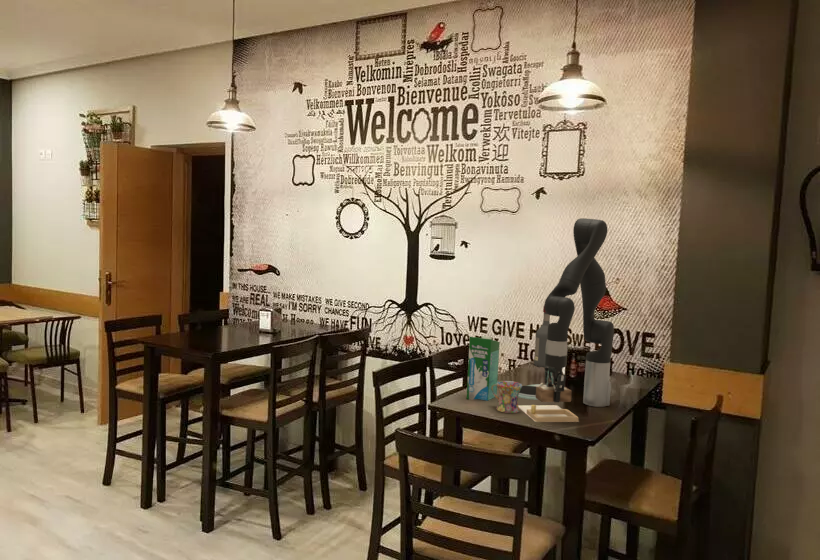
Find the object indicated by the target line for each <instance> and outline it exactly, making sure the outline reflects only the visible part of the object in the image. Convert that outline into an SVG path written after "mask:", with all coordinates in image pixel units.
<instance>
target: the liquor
mask: <svg viewBox="0 0 820 560" xmlns="http://www.w3.org/2000/svg"><path fill="white" fill-rule="evenodd" d="M542 309H543V310H542V311H543V320H542V324H541V326H540V327H539V328H538V329H537V330H536V333H535V341H534V343H535V345H534V358H533V359H534V360H533V364H534V366H535V367H539V368H545V367H548V366H546V365H545V351H546V343H547V332H548V325H549V324H551V323H550V320H551V318H550V317H551V315H548V314H547V313H546V312H545V309H544V306H543V308H542Z"/></svg>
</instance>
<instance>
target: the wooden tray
mask: <svg viewBox="0 0 820 560" xmlns="http://www.w3.org/2000/svg"><path fill="white" fill-rule="evenodd" d="M518 407H519V410H520V411H522V412H523V413H525V414H526V415H527V416H528V417H529V418H530V419H531V420H533V421H534V422H535V423H568V422H569V423H572V422H573V423H577V422H578V423H579V422H580V420H579V417H578V416H577V415H576V414H574V413H573V412H572V411H570V410H569V409H568V408H561V407H560V406H559V405H558V404H555V405H553V404H552V405H551V404H550V405H546V404H545V405H540V404H539V405H536V404H530V405H529V404H528V405H527V404H526V405H525V404H524V405H519V404H518Z"/></svg>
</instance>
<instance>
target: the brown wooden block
mask: <svg viewBox="0 0 820 560" xmlns="http://www.w3.org/2000/svg"><path fill="white" fill-rule="evenodd" d="M572 394H573V393H572V389H569V388H568V387H567V386H565V387H564V391H562V392H561V393H560V402H559V403H562V402H564V403H571V401H572ZM536 398H537V399H538V400H537V401H539V402H540V403H555V402H554V401H553V398H554V387H536Z"/></svg>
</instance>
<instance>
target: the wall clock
mask: <svg viewBox="0 0 820 560" xmlns="http://www.w3.org/2000/svg"><path fill="white" fill-rule="evenodd" d="M536 387H547V386H546V384H545V382H540V384H539V383H537V384H528V385H522V387H521V389H520V392H519V395H518V398H519V399H524V400H532V401H533V400H535V401H536V400H537V401H539V400H538V399H537V398H536Z"/></svg>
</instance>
